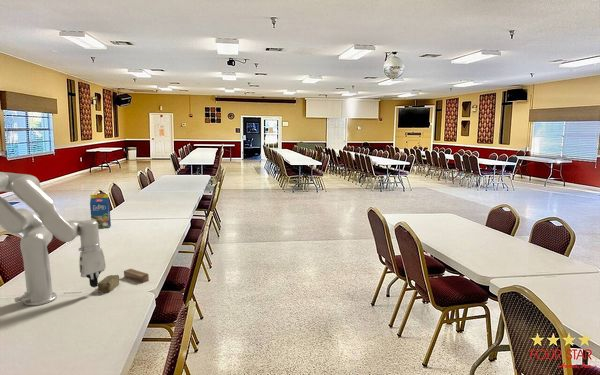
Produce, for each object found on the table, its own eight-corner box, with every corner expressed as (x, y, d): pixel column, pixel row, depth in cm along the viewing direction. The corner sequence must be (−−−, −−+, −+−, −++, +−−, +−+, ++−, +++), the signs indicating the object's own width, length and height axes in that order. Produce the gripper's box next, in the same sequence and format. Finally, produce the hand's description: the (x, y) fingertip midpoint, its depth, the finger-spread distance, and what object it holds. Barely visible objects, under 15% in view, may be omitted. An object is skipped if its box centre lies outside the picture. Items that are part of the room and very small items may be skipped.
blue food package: (93, 226, 315) (91, 194, 311) (110, 226, 318) (108, 193, 314) (91, 228, 309) (89, 195, 305) (109, 228, 312) (107, 194, 308)
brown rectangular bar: (141, 283, 206) (141, 276, 205) (124, 277, 213) (123, 270, 213) (148, 280, 209) (148, 273, 208) (131, 275, 216) (130, 268, 216)
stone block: (120, 284, 205) (119, 274, 204) (109, 293, 194) (109, 283, 193) (108, 283, 205) (107, 274, 204) (97, 293, 194) (96, 283, 193)
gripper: (79, 253, 181) (82, 293, 183) (110, 244, 193) (113, 282, 196) (69, 250, 185) (73, 290, 188) (101, 242, 197) (104, 279, 200)
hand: (94, 286), depth 192 cm, fingers closed
